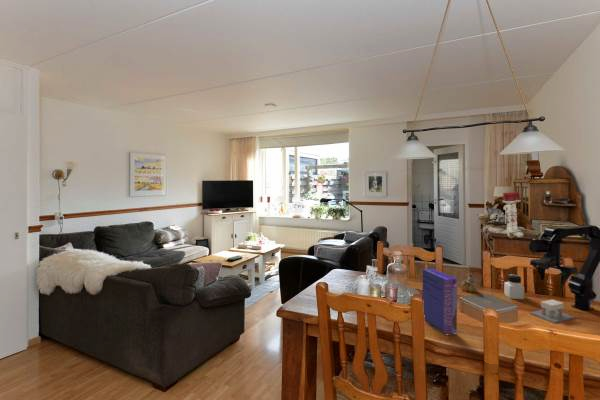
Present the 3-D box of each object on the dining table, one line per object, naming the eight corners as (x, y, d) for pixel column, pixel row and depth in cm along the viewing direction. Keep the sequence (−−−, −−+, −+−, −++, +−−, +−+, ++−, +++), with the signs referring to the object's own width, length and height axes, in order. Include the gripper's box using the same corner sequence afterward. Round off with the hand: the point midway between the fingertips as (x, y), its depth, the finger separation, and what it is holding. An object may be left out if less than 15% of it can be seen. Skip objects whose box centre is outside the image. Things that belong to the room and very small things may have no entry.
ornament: (460, 291, 186) (460, 274, 185) (463, 288, 190) (463, 271, 190) (475, 294, 180) (475, 276, 180) (477, 291, 185) (478, 274, 184)
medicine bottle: (524, 299, 171) (524, 277, 170) (509, 298, 172) (510, 277, 171) (518, 294, 178) (518, 273, 177) (504, 294, 179) (504, 273, 178)
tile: (549, 309, 157) (549, 308, 157) (574, 318, 147) (574, 317, 147) (529, 313, 153) (529, 312, 153) (554, 323, 143) (554, 321, 143)
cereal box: (456, 334, 134) (457, 278, 133) (446, 335, 133) (447, 279, 132) (431, 317, 151) (431, 267, 150) (422, 318, 150) (422, 268, 149)
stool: (540, 313, 151) (540, 301, 151) (552, 311, 154) (552, 299, 153) (551, 318, 146) (552, 305, 146) (563, 315, 149) (563, 303, 149)
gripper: (522, 249, 163) (522, 279, 164) (562, 258, 145) (561, 291, 146) (537, 248, 167) (537, 277, 168) (578, 255, 149) (577, 288, 150)
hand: (552, 283), depth 158 cm, fingers open, 9 cm apart
